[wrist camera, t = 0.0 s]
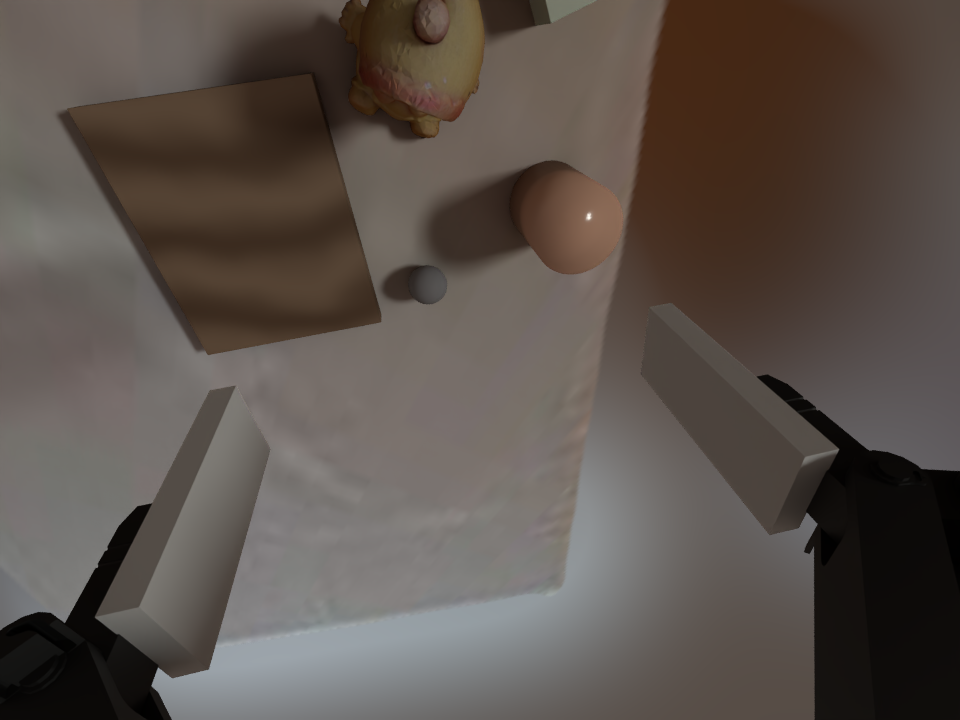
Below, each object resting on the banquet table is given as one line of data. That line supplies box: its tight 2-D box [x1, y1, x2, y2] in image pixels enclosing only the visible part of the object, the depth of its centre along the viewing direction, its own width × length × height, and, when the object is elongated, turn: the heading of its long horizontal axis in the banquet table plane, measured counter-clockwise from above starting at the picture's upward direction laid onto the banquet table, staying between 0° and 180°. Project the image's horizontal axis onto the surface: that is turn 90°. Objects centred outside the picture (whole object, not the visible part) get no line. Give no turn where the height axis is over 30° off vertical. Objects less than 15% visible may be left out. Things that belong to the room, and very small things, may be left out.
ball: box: [408, 265, 447, 304], centre depth 41 cm, size 4×4×4 cm
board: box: [67, 73, 381, 355], centre depth 37 cm, size 20×16×2 cm
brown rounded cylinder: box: [510, 160, 623, 274], centre depth 37 cm, size 7×7×8 cm
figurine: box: [339, 0, 485, 138], centre depth 27 cm, size 10×8×15 cm
